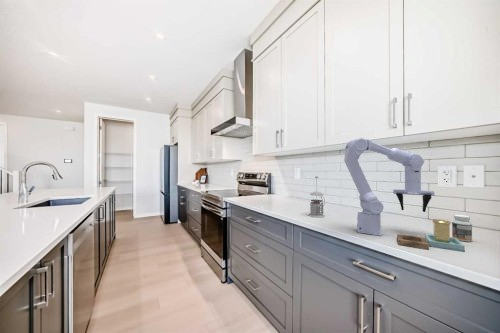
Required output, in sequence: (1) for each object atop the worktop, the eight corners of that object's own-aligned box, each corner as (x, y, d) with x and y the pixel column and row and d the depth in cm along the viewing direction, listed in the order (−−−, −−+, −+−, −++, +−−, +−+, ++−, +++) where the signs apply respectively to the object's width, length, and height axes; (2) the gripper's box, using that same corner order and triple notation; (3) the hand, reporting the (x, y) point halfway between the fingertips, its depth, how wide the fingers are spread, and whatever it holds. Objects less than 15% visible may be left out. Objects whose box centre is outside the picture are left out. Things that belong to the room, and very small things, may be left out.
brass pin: (433, 244, 79) (433, 221, 79) (431, 240, 83) (431, 218, 83) (451, 247, 76) (451, 223, 76) (448, 243, 80) (448, 220, 80)
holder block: (398, 244, 79) (398, 239, 79) (397, 238, 87) (397, 233, 87) (429, 249, 74) (428, 244, 74) (424, 242, 82) (424, 237, 82)
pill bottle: (451, 236, 89) (451, 213, 89) (470, 239, 85) (470, 215, 85) (453, 240, 84) (452, 215, 85) (473, 243, 81) (473, 218, 81)
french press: (305, 215, 130) (305, 176, 130) (317, 213, 136) (317, 175, 136) (318, 218, 121) (317, 176, 122) (330, 216, 128) (330, 176, 128)
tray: (429, 246, 78) (429, 240, 78) (424, 238, 86) (424, 234, 86) (464, 251, 73) (464, 246, 73) (456, 243, 81) (456, 238, 81)
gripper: (393, 180, 94) (393, 210, 93) (435, 181, 86) (436, 214, 86) (392, 180, 100) (393, 207, 99) (432, 180, 92) (432, 211, 91)
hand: (413, 210), depth 93 cm, fingers open, 7 cm apart
